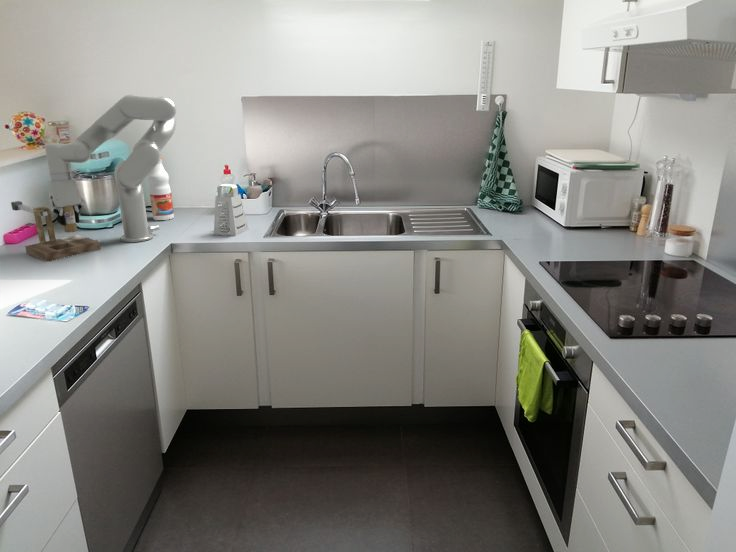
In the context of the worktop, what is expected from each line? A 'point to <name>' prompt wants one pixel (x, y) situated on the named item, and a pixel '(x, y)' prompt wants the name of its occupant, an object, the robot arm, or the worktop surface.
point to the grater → (229, 212)
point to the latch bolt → (25, 208)
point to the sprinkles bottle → (69, 219)
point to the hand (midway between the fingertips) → (69, 223)
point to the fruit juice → (160, 193)
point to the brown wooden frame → (57, 241)
